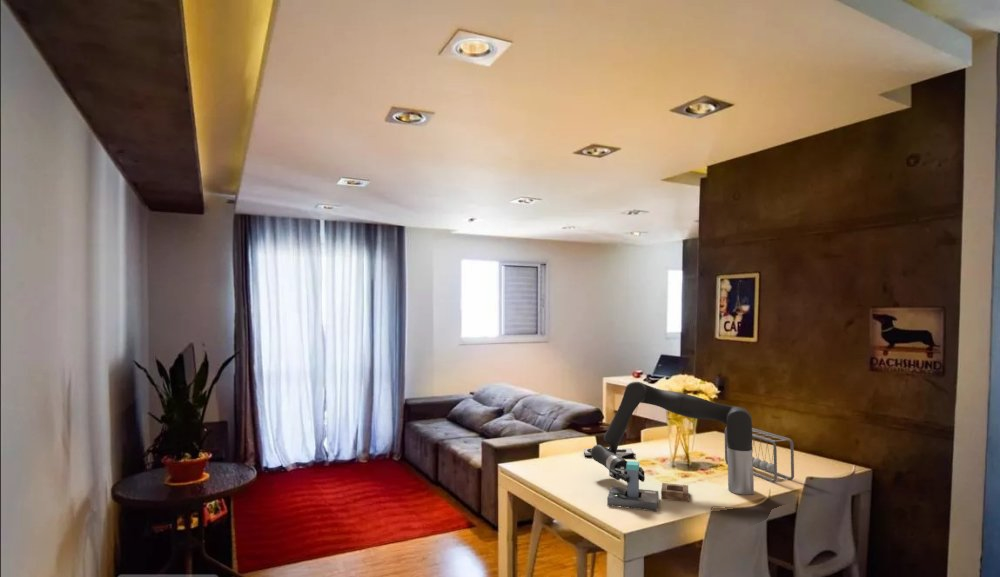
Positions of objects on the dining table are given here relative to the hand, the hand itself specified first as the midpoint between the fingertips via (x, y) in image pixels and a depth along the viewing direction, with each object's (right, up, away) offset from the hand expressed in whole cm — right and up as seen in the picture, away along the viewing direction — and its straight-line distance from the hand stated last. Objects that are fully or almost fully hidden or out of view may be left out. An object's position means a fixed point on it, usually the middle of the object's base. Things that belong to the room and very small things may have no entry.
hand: (636, 479), depth 204 cm
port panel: (0, -9, +2) cm, 10 cm away
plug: (0, -9, +2) cm, 9 cm away
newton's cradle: (+65, -10, +38) cm, 76 cm away
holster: (+18, -10, +9) cm, 22 cm away
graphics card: (+3, -12, +65) cm, 66 cm away
